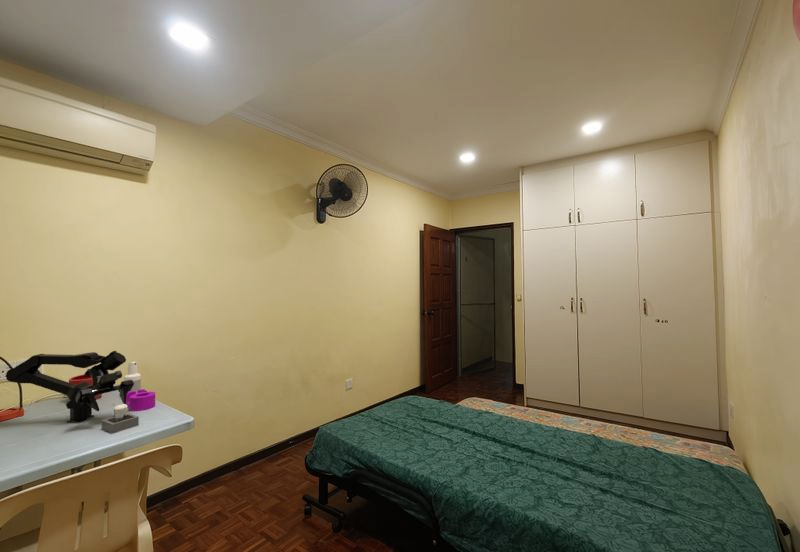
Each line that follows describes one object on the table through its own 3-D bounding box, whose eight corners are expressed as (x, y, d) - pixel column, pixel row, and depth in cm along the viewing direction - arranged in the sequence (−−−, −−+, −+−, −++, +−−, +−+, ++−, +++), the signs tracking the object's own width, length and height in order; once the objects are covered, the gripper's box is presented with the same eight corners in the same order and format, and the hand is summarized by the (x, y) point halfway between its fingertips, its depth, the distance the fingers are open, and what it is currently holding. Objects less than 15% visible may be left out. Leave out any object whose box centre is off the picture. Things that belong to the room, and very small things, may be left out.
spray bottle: (131, 399, 177) (131, 363, 177) (120, 398, 178) (120, 363, 178) (143, 395, 183) (144, 361, 184) (133, 394, 185) (133, 360, 185)
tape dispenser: (158, 407, 166) (158, 394, 166) (132, 413, 158) (132, 399, 158) (147, 400, 176) (148, 387, 176) (123, 405, 168) (123, 392, 169)
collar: (101, 429, 141) (101, 420, 141) (127, 421, 149) (127, 412, 149) (112, 433, 136) (112, 424, 136) (138, 425, 144) (138, 416, 144)
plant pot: (82, 395, 183) (82, 373, 183) (109, 394, 185) (109, 372, 185) (61, 404, 170) (61, 379, 170) (90, 403, 172) (90, 378, 172)
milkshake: (116, 425, 144) (116, 401, 145) (130, 424, 145) (130, 400, 145) (108, 429, 140) (108, 404, 140) (122, 429, 140) (122, 404, 141)
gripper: (78, 370, 141) (89, 402, 135) (132, 361, 157) (144, 389, 151) (70, 387, 144) (81, 419, 139) (124, 376, 161) (135, 404, 155)
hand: (112, 407), depth 146 cm, fingers open, 9 cm apart
